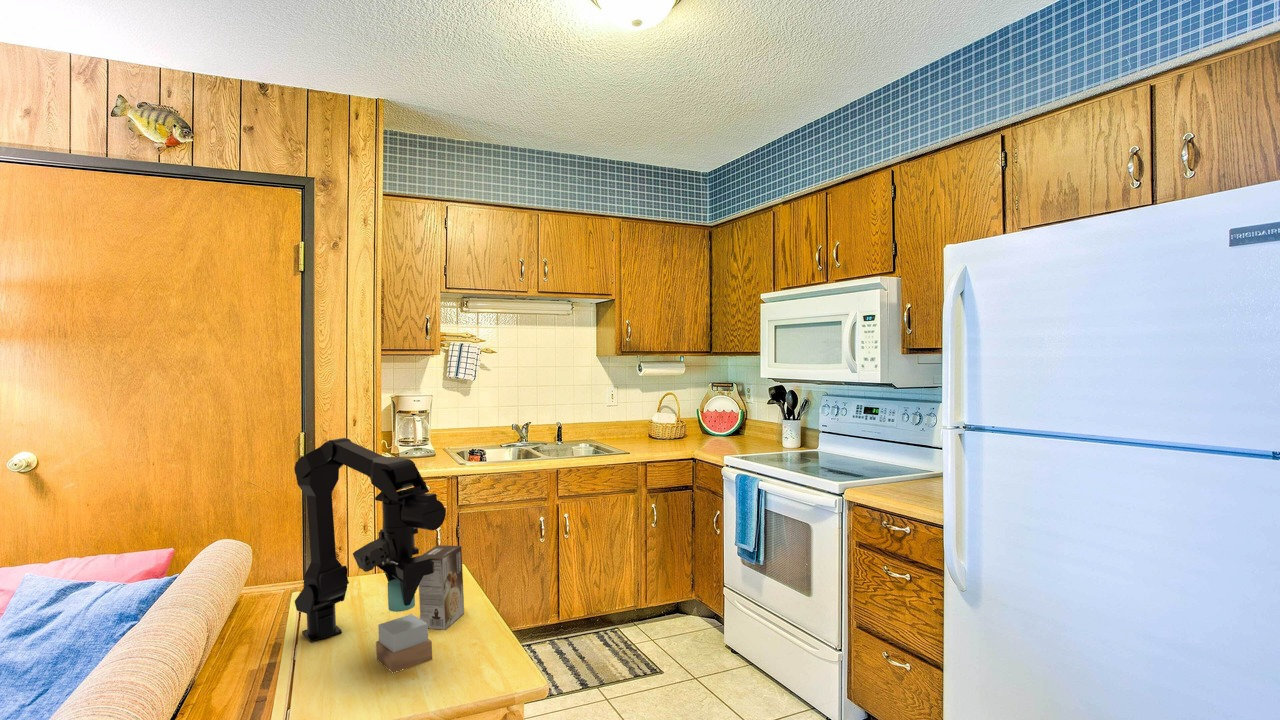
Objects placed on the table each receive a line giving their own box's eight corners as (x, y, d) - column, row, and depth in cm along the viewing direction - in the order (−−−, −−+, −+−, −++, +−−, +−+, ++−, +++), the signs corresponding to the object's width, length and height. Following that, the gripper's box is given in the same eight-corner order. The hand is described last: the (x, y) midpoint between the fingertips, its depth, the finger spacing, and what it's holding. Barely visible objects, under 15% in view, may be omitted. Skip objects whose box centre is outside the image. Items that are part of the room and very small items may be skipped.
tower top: (379, 641, 135) (378, 624, 135) (412, 630, 140) (411, 613, 140) (394, 653, 130) (393, 635, 130) (428, 640, 135) (427, 623, 135)
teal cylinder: (384, 606, 135) (383, 582, 135) (408, 599, 138) (407, 575, 138) (394, 614, 131) (393, 588, 131) (419, 606, 135) (418, 581, 134)
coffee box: (439, 611, 159) (437, 544, 158) (465, 613, 157) (462, 545, 157) (419, 628, 150) (416, 557, 149) (446, 630, 148) (443, 558, 148)
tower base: (376, 661, 136) (376, 641, 136) (415, 647, 141) (414, 629, 141) (393, 675, 130) (392, 654, 130) (432, 660, 135) (431, 641, 135)
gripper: (340, 523, 136) (343, 600, 136) (375, 543, 122) (379, 628, 122) (395, 512, 143) (398, 585, 144) (434, 529, 129) (437, 610, 130)
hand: (401, 601), depth 135 cm, fingers closed on teal cylinder, 5 cm apart
